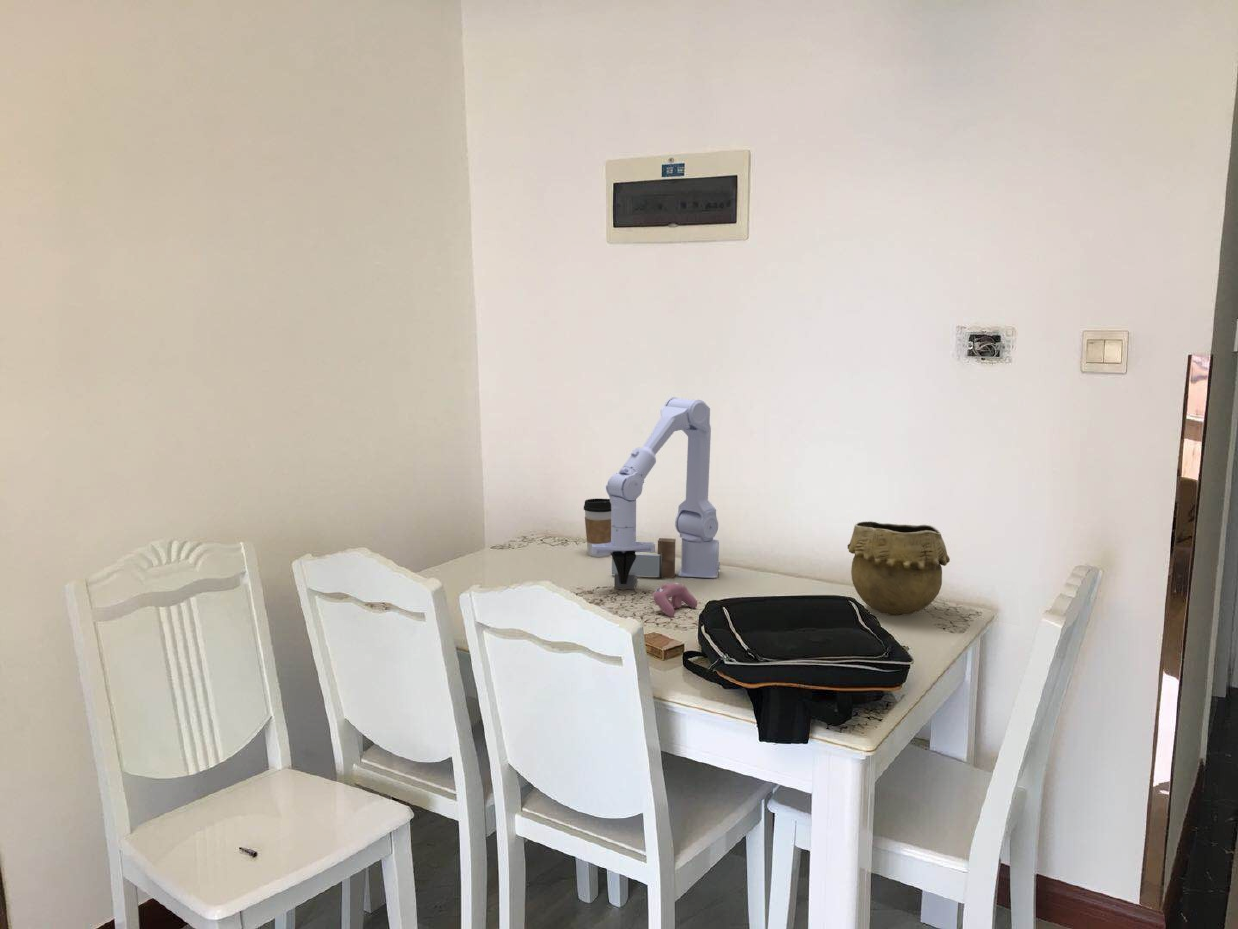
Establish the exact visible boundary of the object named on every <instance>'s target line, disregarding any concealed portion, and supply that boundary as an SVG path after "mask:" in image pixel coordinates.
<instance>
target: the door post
mask: <svg viewBox="0 0 1238 929" xmlns="http://www.w3.org/2000/svg"><path fill="white" fill-rule="evenodd" d="M676 542H677V541H676V538H670V537H669V538H666V537H664V538H663V537H659V538H658V540H657V554H660V576H659V577H658V578H659V579H662V578H667V579H668V578H671V579H673V578H674V577H675V575H676Z"/></svg>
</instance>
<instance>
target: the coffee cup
mask: <svg viewBox="0 0 1238 929" xmlns="http://www.w3.org/2000/svg"><path fill="white" fill-rule="evenodd" d="M583 510H584V514H585V515H584V524H585V526H584V527H585V533H586V535H585V536H586V544H587V555H588V556H590V557H593V558H605V557H609V556H611V553H600V554H592V544H603V543H611V503H610V498H587V499H586V500H585V501H584V505H583Z"/></svg>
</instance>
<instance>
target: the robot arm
mask: <svg viewBox="0 0 1238 929" xmlns="http://www.w3.org/2000/svg"><path fill="white" fill-rule="evenodd" d="M710 416H711V408H710V407H709V406H708V404H707V403H706V402H705V401H704V400H702V399H689V398H688V399H687V398H679V397H675V396H674V397H669V399H667V400H666V402H665V404H664V406H662V407H661V409H660V417H659V419H658V421H657V422H656V425H655V426H654V427H653V429H652V431H651V433H650V434H649V437H648V438H647V439H646V441H645V442H644V445H643V446H641V447H635V449H633V450H632V451H631V453H630V456H629V457H628V459H627V460H626V462H624V464H623V466H622V467H621V468H620V469H619V471H618V472H616V473H614V474H612V475H611V476H610V477H609V479H608V481H607V483H606V485H605V490H606V493H607V495H608V496H609V499H610V503H611V543H603V544H592V554H600V553H610V556H611V559H612V558H613V560H614V563H615V565H616V568H617V572H618V576H619V582H620V584H627V579H628V575H629V572H630V569H631V567H632V565H633V563H634V561H635V559H636V554H635V553H648V552H649V553H656V552H655V551H656V544H655V543H654V542H648V541H645V542H644V541H637V499H638V498H639V497H640V496H641V494H642V492H643V485H644V483H645V479H646V477H647V476H648V475H649V474H650V471H652V469H653V468H654V466H655V464H656V462H657V458H656V454H657V453H658V452H659V451H660V449H661V448H663V446H664V445H665V443H666V442H667V441H668V440H669V439H670V438H671V436H672V435H673V434H674V432H677V431H682V432H683V433H684V434H685V435H686V436H687V454H686V456H687V460H686V480H685V481H686V483H685V485H686V486H685V499H684V501H682V502H681V503H680V504H679V505H678V510H677V513H676V514H677V515H676V517H675V522H674V527H675V529H676V531H677V532H678V533H679V538H681V552H680V554H681V556H680V558H681V561H680V563H681V564H680V568H679V571H678V574H677V576H678V577H683V578H684V577H685V578H703V579H704V578H706V579H717V578H718V574H719V571H720V567H721V566H720V565H721V564H720V561H719V560H720V540H719V539H714V538H715V536H716V535H717V533H718V529H719V520H718V518H717V509H716V508H715V507H714V505H713V504H712V502H710V501H709V485H710V484H709V482H710V463H711V462H710V458H711V456H710V455H711V439H712V438H711V435H712V434H711V432H712V431H711V430H712V427H711V424H710V422H711V417H710Z"/></svg>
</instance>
